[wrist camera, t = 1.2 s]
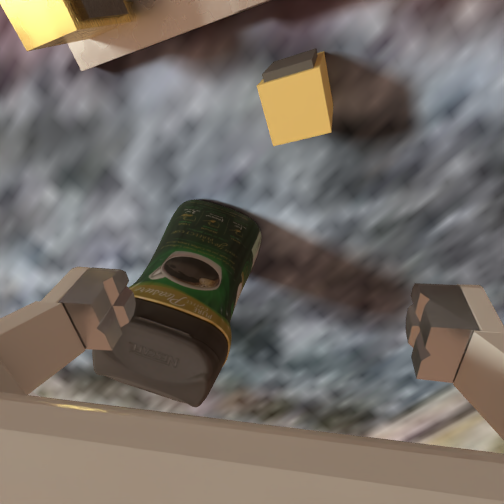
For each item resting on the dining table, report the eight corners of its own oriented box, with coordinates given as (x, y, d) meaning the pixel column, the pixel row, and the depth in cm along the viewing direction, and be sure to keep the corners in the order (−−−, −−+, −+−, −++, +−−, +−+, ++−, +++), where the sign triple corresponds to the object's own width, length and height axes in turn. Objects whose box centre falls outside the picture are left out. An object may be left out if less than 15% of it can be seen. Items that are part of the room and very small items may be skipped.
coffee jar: (171, 246, 41) (77, 388, 27) (181, 187, 36) (74, 320, 22) (251, 274, 41) (201, 431, 27) (272, 218, 37) (225, 373, 22)
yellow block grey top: (322, 44, 27) (317, 58, 21) (333, 105, 29) (331, 132, 24) (271, 60, 28) (254, 77, 23) (285, 117, 31) (273, 146, 25)
